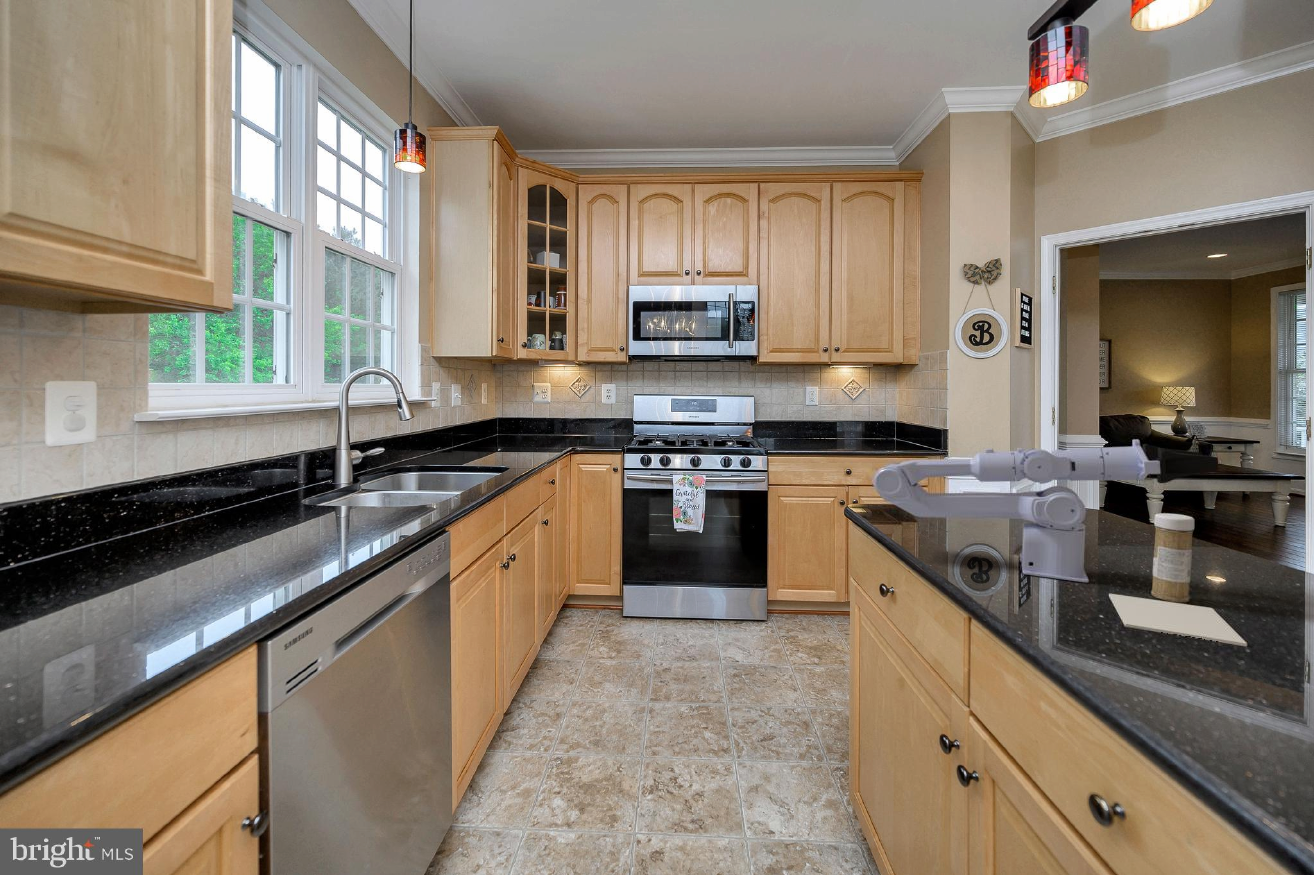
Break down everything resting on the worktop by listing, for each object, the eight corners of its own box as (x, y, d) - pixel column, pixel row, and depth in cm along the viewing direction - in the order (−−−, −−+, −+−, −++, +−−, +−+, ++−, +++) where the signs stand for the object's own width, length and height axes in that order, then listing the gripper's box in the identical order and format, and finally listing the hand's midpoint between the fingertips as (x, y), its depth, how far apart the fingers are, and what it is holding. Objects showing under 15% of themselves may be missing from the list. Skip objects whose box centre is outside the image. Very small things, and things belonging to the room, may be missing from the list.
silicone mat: (1125, 626, 76) (1125, 623, 76) (1109, 595, 88) (1109, 593, 88) (1246, 646, 70) (1247, 643, 70) (1211, 610, 82) (1211, 607, 82)
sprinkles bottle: (1158, 591, 90) (1163, 511, 89) (1195, 600, 86) (1200, 516, 85) (1144, 596, 88) (1149, 514, 87) (1181, 605, 84) (1186, 519, 83)
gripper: (1107, 444, 89) (1223, 439, 82) (1094, 438, 101) (1194, 434, 94) (1109, 487, 89) (1226, 486, 82) (1096, 476, 101) (1197, 474, 94)
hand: (1209, 461), depth 88 cm, fingers open, 7 cm apart
